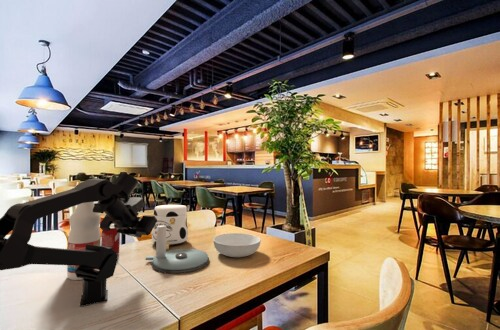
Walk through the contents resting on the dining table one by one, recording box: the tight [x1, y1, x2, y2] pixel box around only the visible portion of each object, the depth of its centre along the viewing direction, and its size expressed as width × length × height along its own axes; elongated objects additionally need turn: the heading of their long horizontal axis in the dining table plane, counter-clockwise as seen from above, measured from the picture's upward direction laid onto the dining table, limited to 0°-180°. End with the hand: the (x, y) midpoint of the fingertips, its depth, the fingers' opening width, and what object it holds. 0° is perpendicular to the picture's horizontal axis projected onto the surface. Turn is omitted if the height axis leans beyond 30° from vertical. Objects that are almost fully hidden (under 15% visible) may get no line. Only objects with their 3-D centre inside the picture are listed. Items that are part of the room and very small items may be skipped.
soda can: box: [100, 224, 121, 255], centre depth 107 cm, size 7×7×12 cm
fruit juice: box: [66, 202, 102, 281], centre depth 88 cm, size 9×9×28 cm
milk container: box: [151, 204, 189, 247], centre depth 126 cm, size 17×17×18 cm
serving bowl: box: [212, 232, 261, 258], centre depth 113 cm, size 21×21×7 cm
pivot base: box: [150, 242, 210, 275], centre depth 102 cm, size 24×22×5 cm
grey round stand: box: [145, 225, 209, 270], centre depth 101 cm, size 21×23×13 cm
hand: (140, 236), depth 89 cm, fingers closed
